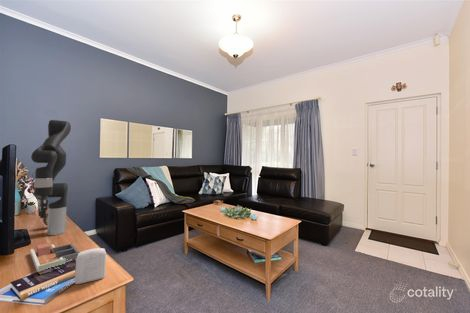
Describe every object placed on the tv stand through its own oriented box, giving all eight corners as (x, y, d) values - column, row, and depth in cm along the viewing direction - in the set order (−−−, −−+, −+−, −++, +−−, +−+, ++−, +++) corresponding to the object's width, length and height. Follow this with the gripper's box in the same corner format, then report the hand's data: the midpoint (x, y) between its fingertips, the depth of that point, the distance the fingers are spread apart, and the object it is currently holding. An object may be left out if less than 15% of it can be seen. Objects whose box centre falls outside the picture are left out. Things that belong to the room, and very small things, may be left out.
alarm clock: (44, 230, 143) (45, 206, 144) (41, 228, 146) (43, 205, 147) (64, 226, 153) (65, 204, 153) (61, 225, 155) (62, 203, 156)
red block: (36, 253, 108) (36, 245, 108) (47, 250, 112) (48, 243, 112) (38, 256, 105) (38, 248, 105) (50, 253, 108) (50, 246, 108)
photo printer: (105, 273, 90) (106, 245, 90) (105, 278, 86) (106, 248, 87) (75, 280, 84) (76, 250, 84) (74, 286, 80) (75, 254, 81)
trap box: (30, 254, 107) (30, 246, 107) (69, 245, 119) (69, 238, 119) (38, 275, 87) (38, 266, 87) (83, 262, 99) (84, 253, 99)
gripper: (54, 186, 113) (53, 218, 112) (50, 184, 122) (49, 213, 122) (35, 187, 107) (34, 220, 107) (32, 185, 117) (31, 215, 116)
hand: (42, 216), depth 114 cm, fingers open, 5 cm apart
